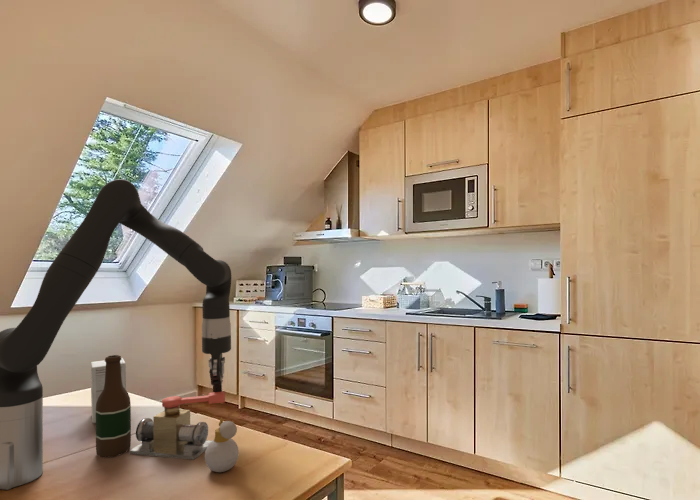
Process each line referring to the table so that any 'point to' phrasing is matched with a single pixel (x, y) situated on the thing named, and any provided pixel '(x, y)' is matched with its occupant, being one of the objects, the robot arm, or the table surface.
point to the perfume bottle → (222, 448)
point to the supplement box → (101, 381)
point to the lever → (193, 399)
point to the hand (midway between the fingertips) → (217, 398)
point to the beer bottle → (113, 413)
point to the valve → (171, 435)
